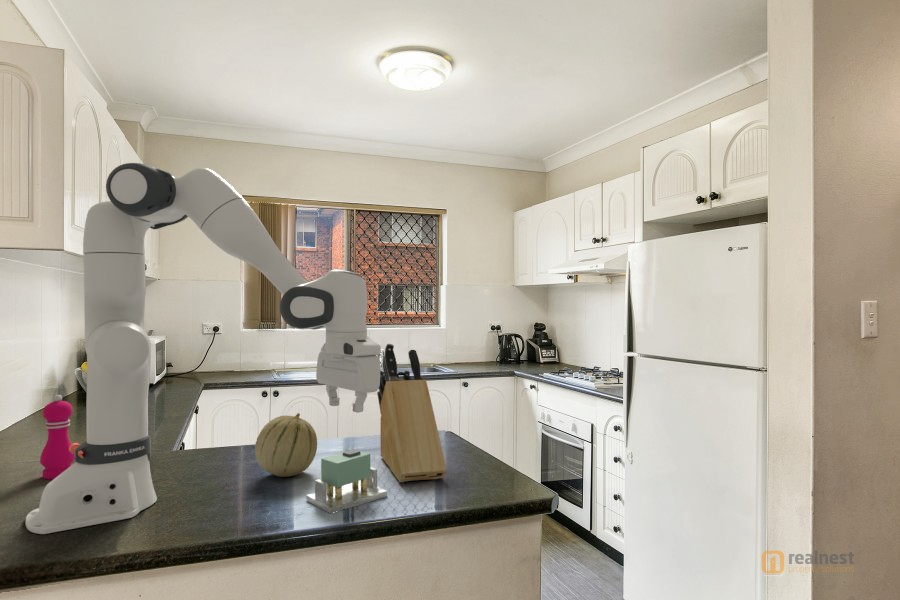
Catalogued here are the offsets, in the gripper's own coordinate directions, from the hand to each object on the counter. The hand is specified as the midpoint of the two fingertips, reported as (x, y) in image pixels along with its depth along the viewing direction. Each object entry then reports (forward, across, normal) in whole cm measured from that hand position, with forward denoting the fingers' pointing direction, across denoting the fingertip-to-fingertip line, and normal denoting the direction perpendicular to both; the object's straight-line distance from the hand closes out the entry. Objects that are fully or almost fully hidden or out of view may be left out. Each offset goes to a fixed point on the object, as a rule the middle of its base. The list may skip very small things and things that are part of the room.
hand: (345, 408), depth 117 cm
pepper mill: (+21, -64, -43) cm, 79 cm away
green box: (+15, 0, 0) cm, 15 cm away
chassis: (+20, 0, +1) cm, 20 cm away
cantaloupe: (+20, -24, -2) cm, 31 cm away
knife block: (+19, -10, +26) cm, 34 cm away
